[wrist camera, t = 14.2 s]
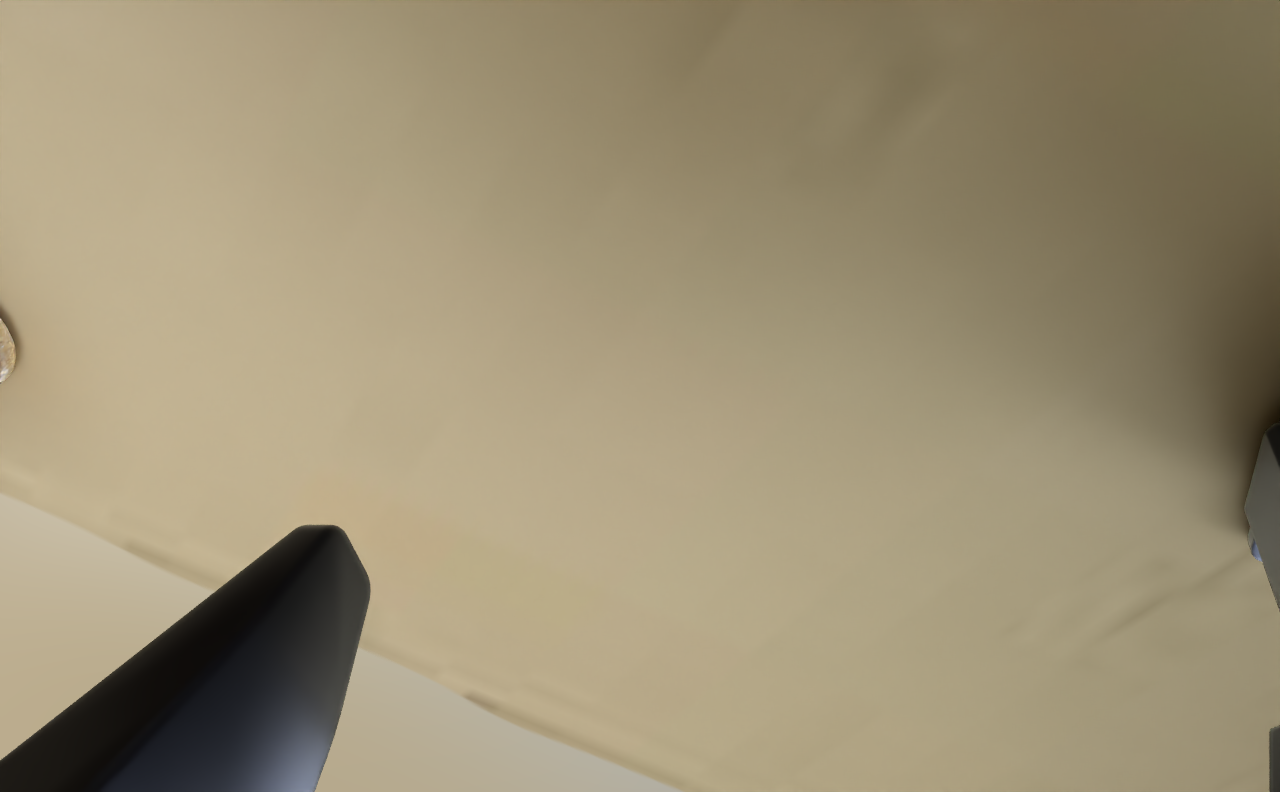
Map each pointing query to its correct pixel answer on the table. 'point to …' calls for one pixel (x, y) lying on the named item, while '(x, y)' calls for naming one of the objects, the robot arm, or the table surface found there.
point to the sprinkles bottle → (6, 352)
